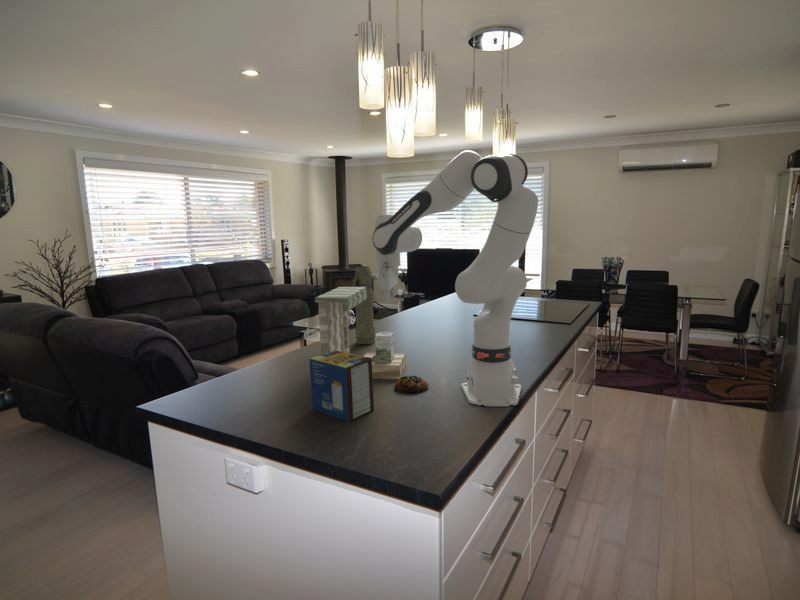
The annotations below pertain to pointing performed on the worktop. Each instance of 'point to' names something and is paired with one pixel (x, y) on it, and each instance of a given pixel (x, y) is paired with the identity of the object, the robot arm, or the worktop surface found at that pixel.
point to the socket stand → (337, 331)
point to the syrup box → (384, 347)
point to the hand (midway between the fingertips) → (389, 300)
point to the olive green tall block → (365, 307)
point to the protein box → (342, 384)
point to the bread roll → (411, 384)
